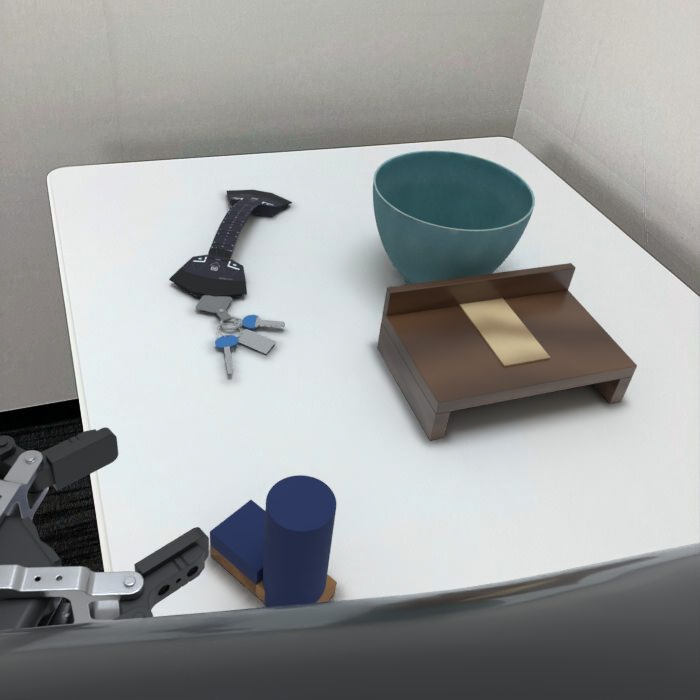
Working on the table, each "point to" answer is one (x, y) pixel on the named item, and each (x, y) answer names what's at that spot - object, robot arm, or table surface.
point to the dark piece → (226, 248)
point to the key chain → (248, 337)
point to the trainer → (281, 543)
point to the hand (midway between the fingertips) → (156, 488)
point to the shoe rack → (495, 342)
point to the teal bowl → (448, 214)
